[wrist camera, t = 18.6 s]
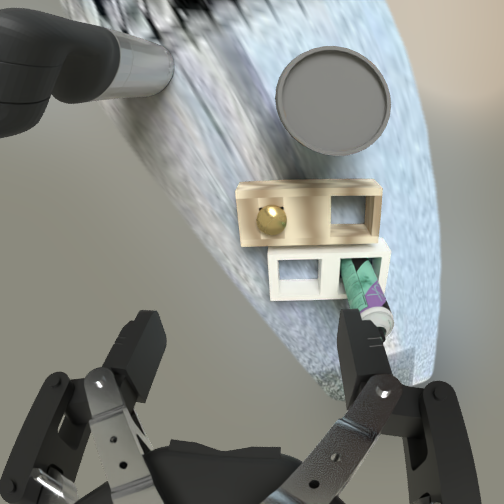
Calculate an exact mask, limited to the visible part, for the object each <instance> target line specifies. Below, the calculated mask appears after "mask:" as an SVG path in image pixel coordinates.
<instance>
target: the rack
mask: <svg viewBox="0 0 504 504" xmlns="http://www.w3.org/2000/svg"><path fill="white" fill-rule="evenodd" d="M390 256H391V250H390V248H389V247H388V245H387V244H386V242H385V240H384V239H383V238H378V243H369V244H329V245H291V246H268V270H269V286H270V301H292V300H326V299H348V298H347V295H346V291H345V287H344V283H343V280H342V278H339V272H340V258H369V257H373V260H372V268H373V270H374V272H375V275H376V277H377V279H378V282H379V284H380V286H381V289H382V291H383V293H384V292H385V287H386V281H387V276H388V269H389V263H390ZM300 259H318V279H292V280H280V277H279V260H300Z"/></svg>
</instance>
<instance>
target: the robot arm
mask: <svg viewBox="0 0 504 504" xmlns="http://www.w3.org/2000/svg"><path fill="white" fill-rule="evenodd" d="M173 71H174V62H173V58H172V56H171V54H170V52H169V51H168V50H167V49H166V48H165V47H163V46H161V45H158V44H156V43H153V42H150V41H147V40H144V39H141V38H138V37H135V36H132V35H129V34H126V33H122V32H119V31H115V30H111V29H108V28H104V27H100V26H96V25H91V24H87V23H82V22H77V21H73V20H69V19H66V18H63V17H59V16H55V15H52V14H48V13H45V12H41V11H36V10H30V9H25V8H6V9H1V10H0V138H4V137H9V136H13V135H17V134H19V133H22V132H25V131H27V130H29V129H31V128H32V127H34V126H35V125H36V124H37V123H38V122H39V121H40V119H41V117H42V115H43V113H44V111H45V109H46V107H47V104H48V102H49V99H50V96H51V94H52V95H53V96H54V97H55V98H56V99H57V100H59V101H61V102H64V103H68V104H75V103H83V102H90V101H99V100H108V99H118V98H131V97H148V96H152V95H155V94H157V93H159V92H160V91H162V90H163V89H164V88H165V87H166V86H167V85H168V83H169V82H170V80H171V78H172V75H173ZM165 348H166V334H165V332H164V329H163V325H162V323H161V320H160V317H159V314H158V312H157V311H151V310H149V311H148V310H141V311H139V313H138V315H137V317H136V318H135V320H134V321H130V322H129V323H128V324H126V325H125V326H124V327H123V328H122V330H121V332H120V334H119V336H118V338H117V339H116V341H115V344H114V345H113V347H112V348H111V350H110V352H109V354H108V356H107V358H106V360H105V362H104V364H103V366H102V367H100V368H96V369H93V370H92V371H90V372H89V373H88V375H87V376H86V377H85V378H82V379H73V380H70V379H69V377H68V376H67V374H65V373H63V372H55V373H53V374H51V375H50V376H49V377H47V379H46V380H45V382H44V383H43V385H42V387H41V389H40V391H39V393H38V395H37V397H36V399H35V401H34V403H33V405H32V407H31V409H30V411H29V413H28V416H27V418H26V420H25V422H24V424H23V426H22V429H21V431H20V433H19V435H18V437H17V440H16V442H15V445H14V446H13V449H12V452H11V454H10V456H9V459H8V461H7V464H6V466H5V469H4V471H3V474H2V477H1V480H0V494H1V496H2V498H3V499H4V500H5V501H6V502H8V503H10V504H345V503H344V502H343V501H342V500H341V499H340V498H339V497H338V496H339V494H340V493H341V491H342V490H343V489H344V488H345V486H346V485H347V484H348V482H349V481H350V480H351V478H352V477H353V475H354V474H355V473H356V471H357V470H358V468H359V467H360V465H361V464H362V462H363V460H364V459H365V458H366V456H367V455H368V453H369V452H370V450H371V449H372V447H373V446H374V444H375V443H376V441H377V439H378V438H379V436H380V434H385V435H393V436H399V437H402V439H403V446H404V453H405V461H406V470H407V478H408V490H409V501H410V504H481V497H480V491H479V485H478V479H477V474H476V469H475V464H474V459H473V455H472V451H471V446H470V442H469V438H468V434H467V430H466V427H465V423H464V420H463V416H462V413H461V409H460V406H459V403H458V400H457V396H456V393H455V391H454V389H453V388H452V387H451V386H450V385H449V384H448V383H446V382H443V381H433V382H431V383H429V384H428V385H427V386H426V387H425V388H424V389H423V388H415V387H409V386H405V385H403V384H401V382H400V381H399V380H398V379H397V378H396V377H395V376H393V374H392V371H391V368H390V365H389V361H388V358H387V355H386V352H385V348H384V346H383V342H382V339H381V336H380V333H379V330H378V327H377V326H376V325H375V324H374V323H373V322H372V321H371V320H362V318H361V315H360V311H359V309H358V308H357V309H341V311H340V318H339V326H338V333H337V349H338V355H339V361H340V367H341V374H342V380H343V387H344V393H345V400H346V407H347V410H348V411H347V413H346V414H345V415H344V417H343V418H342V419H338V420H337V421H336V422H335V423H334V425H333V426H332V427H331V429H330V430H329V431H328V432H327V434H326V435H325V436H324V438H323V439H322V440H321V441H320V442H319V444H318V445H317V446H316V448H314V450H313V451H312V452H311V453H310V454H309V455H308V457H307V458H306V459H305V460H304V461H303V462H302V461H300V460H298V459H296V458H294V457H291V456H288V455H285V454H281V447H248V448H243V449H236V450H230V451H220V450H216V449H213V448H210V447H207V446H204V445H202V444H198V443H195V442H186V441H179V440H171V441H170V445H169V446H165V447H161V448H158V449H154V448H153V447H152V445H151V443H150V441H149V439H148V437H147V435H146V433H145V431H144V428H143V426H142V424H141V422H140V420H139V417H138V415H137V412H136V410H135V408H134V405H135V403H136V402H140V403H145V402H146V399H147V396H148V394H149V391H150V388H151V385H152V383H153V380H154V377H155V375H156V372H157V369H158V367H159V364H160V361H161V359H162V356H163V353H164V351H165ZM63 414H64V415H65V418H64V420H63V423H62V425H61V428H60V430H59V433H58V426H59V424H60V422H61V419H62V417H63ZM91 432H92V435H93V439H94V442H95V445H96V448H97V451H98V454H99V457H100V461H101V464H102V466H103V469H104V472H105V475H106V478H107V480H108V481H107V482H105V483H104V484H102V485H101V486H99V487H98V488H96V489H95V490H93V491H92V492H90V493H89V494H87V495H85V496H84V497H82V498H81V499H79V496H78V494H77V488H76V486H75V484H74V482H75V478H76V475H77V472H78V469H79V466H80V463H81V460H82V456H83V453H84V450H85V447H86V444H87V442H88V439H89V436H90V433H91Z"/></svg>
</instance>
